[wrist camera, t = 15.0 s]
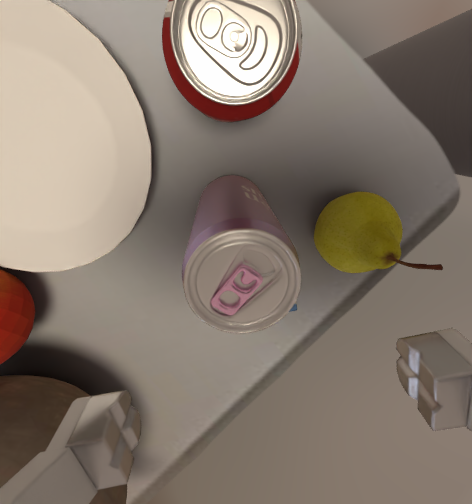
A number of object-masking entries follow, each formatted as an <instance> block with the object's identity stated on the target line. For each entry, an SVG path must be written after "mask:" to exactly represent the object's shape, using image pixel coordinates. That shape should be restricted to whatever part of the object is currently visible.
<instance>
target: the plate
mask: <svg viewBox="0 0 472 504" xmlns="http://www.w3.org/2000/svg"><path fill="white" fill-rule="evenodd" d="M150 182H151V143H150V139H149V135H148V131H147V126H146V122H145V118H144V114H143V110H142V108H141V106H140V104H139V102H138V100H137V98H136V96H135V94H134V91H133V89H132V87H131V85H130V83H129V81H128V79H127V77H126V75H125V73H124V72H123V71H122V69H121V68H120V67H119V65H118V64H117V63H116V61H115V60H114V59H113V57H112V56H111V55H110V53H109V52H108V51H107V49H106V48H105V47H104V45H103V44H102V43H101V41H100V40H99V39H98V38H97V37H96V36H95V35H93V34H92V33H91V32H90V31H89V30H88V29H87V28H85V27H84V26H83V25H82V24H81V23H80V22H79V21H77V20H76V19H75V18H74V17H73V16H72V15H71V14H69V13H68V12H67V11H66V10H65V9H63V8H61V7H59V6H58V5H56V4H54V3H52V2H50V1H49V0H0V266H1V267H5V268H11V269H17V270H23V271H29V272H52V271H65V270H68V269H72V268H76V267H79V266H83V265H86V264H90V263H91V262H93V261H95V260H97V259H98V258H100V257H102V256H104V255H105V254H107V253H109V252H111V251H112V250H113V249H114V248H115V247H116V246H117V245H118V244H119V243H120V242H121V241H122V240H123V239H124V238H125V237H126V236H127V235H128V234H129V233H130V232H131V231H132V229H133V227H134V225H135V224H136V222H137V220H138V218H139V216H140V214H141V213H142V211H143V209H144V207H145V203H146V198H147V194H148V190H149V186H150Z"/></svg>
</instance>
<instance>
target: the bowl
mask: <svg viewBox="0 0 472 504" xmlns="http://www.w3.org/2000/svg"><path fill="white" fill-rule="evenodd" d="M89 396H90V395H89V394H87V393H86V392H85V391H83V390H81V389H79V388H78V387H76V386H74V385H71V384H68V383H66V382H63V381H59V380H56V379H53V378H48V377H39V376H21V375H10V376H0V488H1V487H2V486H3V485H4V484H6V483H7V482H8V481H9V480H10V479H11V478H12V477H13V476H14V475H15V474H17V473H18V472H19V471H20V470H21V469H22V468H23V467H24V466H25V465H27V464H28V463H29V462H30V461H31V460H32V459H33V458H34V457H35V456H37V455H38V454H39V453H40V452H44V451H46V449H47V447H48V446H49V444H50V442H51V440H52V438H53V437H54V435H55V433H56V431H57V429H58V428H59V426H60V424H61V422H62V420H63V419H64V417H65V415H66V413H67V411H68V410H69V408H70V406H71V404H72V402H73V401H75V400H76V399H77V398H82V397H89ZM97 491H98V492H97V494H96V495H95V496H94V498H93V499H92V500H91V502H90V503H89V504H126V498H127V484H124V485H119V486H114V487H109V488H104V489H99V490H97Z"/></svg>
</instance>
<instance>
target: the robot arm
mask: <svg viewBox="0 0 472 504" xmlns="http://www.w3.org/2000/svg"><path fill="white" fill-rule="evenodd" d="M396 345H397V347H396V349H397V351H398V352H399V354H400V355H401V356H400V357H399V359H398V360H397V372H398V376H399V379H400V382H401V384H402V386H403V388H404V389H405V391H406V392H407V394H408V395H409V396H411V397H413V398H414V399H416V400H418V410H419V411H420V413H421V414H422V416H423V417H424V419H425V420H426V422H427V423H428V425H429V426H430V427H431V429H432V430H433V431H438V430H445V429H452V428H459V427H466V426H467V428H468V429H469V430H470V431H472V343H471V342H470V341H469V340H468V339H466V338H465V337H464V336H463V335H462V334H461V333H460V332H458V331H457V330H456V329H453V328H449V329H444V330H440V331H434V332H430V333H425V334H420V335H415V336H409V337H405V338H399V339H398V341H397V344H396ZM131 400H132V398H131V396H130V394H129V392H128V391H124V390H123V391H117V392H111V393H105V394H99V395H93V396H89V397H82V398H77V399H76V400H75V401H73V402H72V404H71V406H70V408H69V410H68V411H67V413H66V415H65V417H64V419H63V420H62V422H61V424H60V426H59V428H58V429H57V431H56V433H55V435H54V437H53V438H52V440H51V442H50V444H49V446H48V447H47V449H46V451H44V452H40V453H39V454H38V455H37V456H35V457H34V458H33V459H32V460H31V461H30V462H29V463H28V464H27V465H25V466H24V467H23V468H22V469H21V470H20V471H19V472H18V473H17V474H15V475H14V476H13V477H12V478H11V479H10V480H9V481H8V482H7V483H6V484H4V485H3V486H2V487H1V488H0V504H89V503H90V502H91V500H92V499H93V498H94V496H95V495H96V494H97V492H98V491H97V490H99V489H104V488H109V487H114V486H119V485H124V484H127V483H128V479H129V476H130V472H131V468H132V465H133V461H134V457H133V455H132V453H131V451H132V450H133V449H134V448H135V447H136V445H137V444H138V443H139V439H140V435H141V420H140V415H139V413H138V410H137V409H136V408H134V407H132V406H131V405H130V403H131Z"/></svg>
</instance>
